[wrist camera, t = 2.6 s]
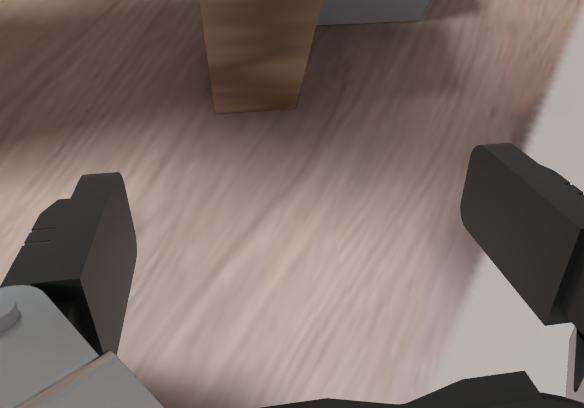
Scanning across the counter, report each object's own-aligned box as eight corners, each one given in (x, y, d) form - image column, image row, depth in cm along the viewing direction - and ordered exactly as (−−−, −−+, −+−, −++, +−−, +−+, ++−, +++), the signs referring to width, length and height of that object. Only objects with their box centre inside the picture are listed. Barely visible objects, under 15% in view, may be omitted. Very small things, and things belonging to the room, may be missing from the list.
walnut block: (214, 114, 26) (198, -7, 17) (208, 41, 27) (189, -113, 18) (295, 108, 27) (325, -11, 17) (286, 37, 28) (309, -114, 18)
